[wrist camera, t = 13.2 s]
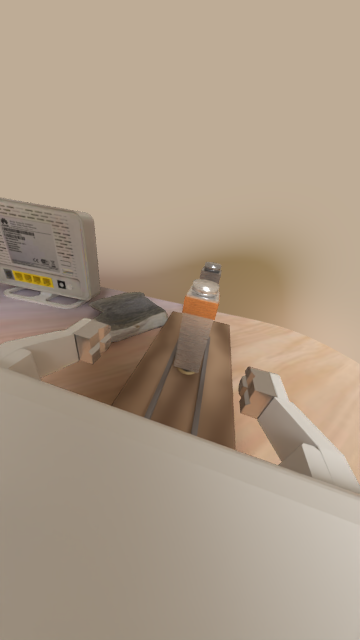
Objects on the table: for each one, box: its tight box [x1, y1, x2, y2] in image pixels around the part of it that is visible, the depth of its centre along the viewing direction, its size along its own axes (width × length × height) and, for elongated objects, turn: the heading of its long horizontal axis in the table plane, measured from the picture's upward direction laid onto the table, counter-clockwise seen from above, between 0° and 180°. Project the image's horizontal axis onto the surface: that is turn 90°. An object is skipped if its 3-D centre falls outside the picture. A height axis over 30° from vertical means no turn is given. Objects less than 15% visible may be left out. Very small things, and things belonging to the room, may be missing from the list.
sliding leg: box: [174, 279, 220, 373], centre depth 22 cm, size 4×4×13 cm
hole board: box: [112, 311, 235, 450], centre depth 26 cm, size 14×34×3 cm, turn 166°
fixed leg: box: [200, 262, 221, 284], centre depth 35 cm, size 4×4×13 cm
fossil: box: [89, 292, 168, 342], centre depth 38 cm, size 15×16×4 cm
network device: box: [0, 198, 100, 309], centre depth 38 cm, size 26×9×20 cm, turn 81°
